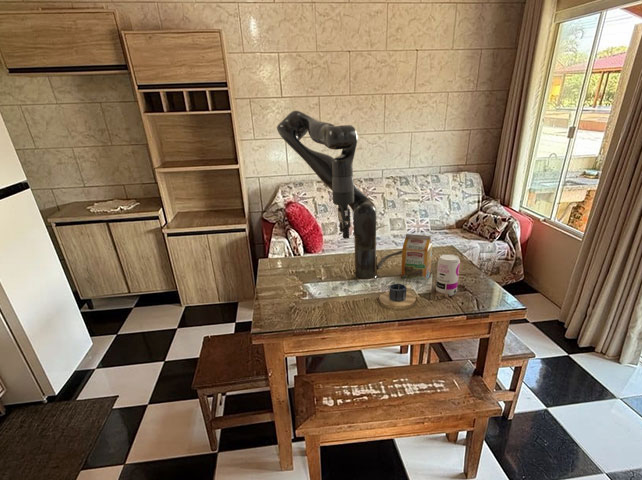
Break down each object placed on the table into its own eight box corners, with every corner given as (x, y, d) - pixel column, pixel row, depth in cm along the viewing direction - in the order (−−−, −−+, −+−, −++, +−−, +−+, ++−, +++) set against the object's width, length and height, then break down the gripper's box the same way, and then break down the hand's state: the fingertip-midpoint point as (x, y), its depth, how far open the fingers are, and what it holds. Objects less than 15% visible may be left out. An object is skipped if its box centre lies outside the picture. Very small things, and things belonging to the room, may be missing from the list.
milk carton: (401, 280, 177) (402, 237, 168) (406, 271, 185) (408, 230, 176) (425, 282, 173) (428, 239, 164) (430, 274, 182) (433, 232, 173)
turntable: (391, 291, 167) (391, 288, 166) (421, 299, 159) (422, 296, 159) (372, 303, 158) (372, 300, 157) (403, 313, 150) (403, 309, 149)
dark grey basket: (391, 302, 155) (391, 290, 152) (387, 295, 160) (387, 284, 158) (412, 300, 155) (413, 289, 153) (408, 293, 161) (408, 282, 159)
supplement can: (457, 289, 166) (461, 254, 159) (455, 298, 160) (459, 261, 152) (437, 287, 169) (440, 252, 161) (434, 295, 162) (437, 259, 155)
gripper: (330, 186, 147) (332, 230, 155) (334, 194, 135) (336, 241, 143) (350, 185, 148) (351, 229, 156) (357, 192, 136) (357, 239, 144)
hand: (344, 234), depth 149 cm, fingers open, 8 cm apart
